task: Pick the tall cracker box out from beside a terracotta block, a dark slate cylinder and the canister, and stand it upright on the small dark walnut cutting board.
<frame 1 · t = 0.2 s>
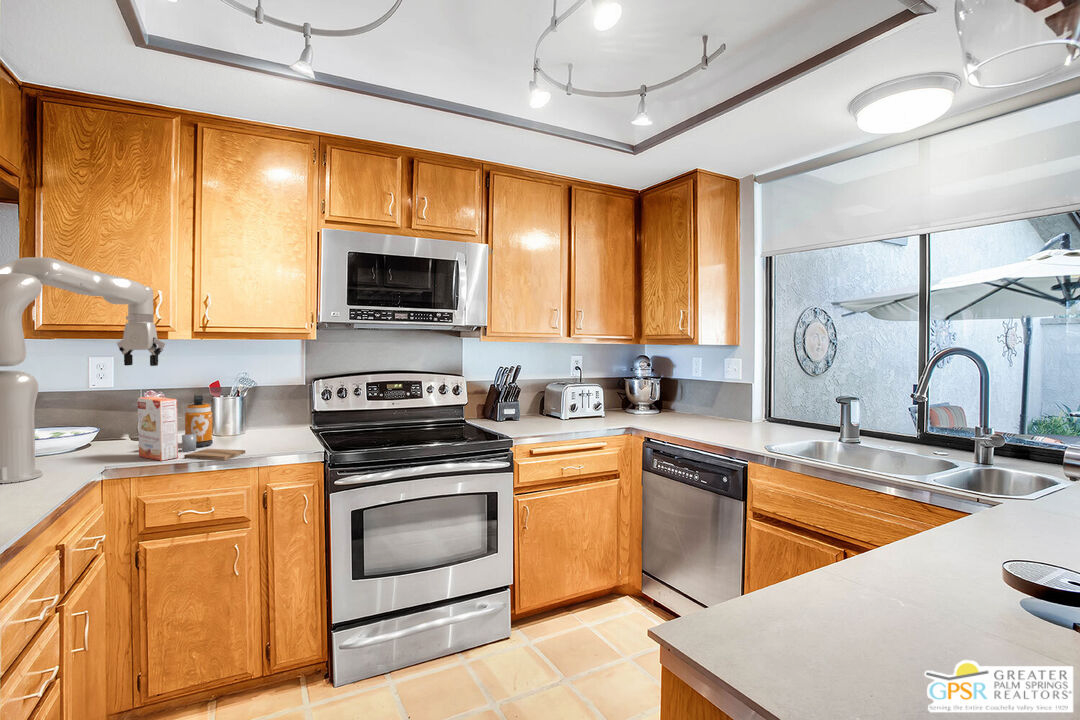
hand: (141, 365, 201), 31 cm above the countertop, tool pointing down, fingers open, 9 cm apart
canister: (198, 445, 211), on the countertop
slate cylinder: (189, 451, 200), on the countertop
cracker box: (158, 458, 189), on the countertop
cutting board: (215, 455, 193), on the countertop
terracotta block: (154, 451, 200), on the countertop
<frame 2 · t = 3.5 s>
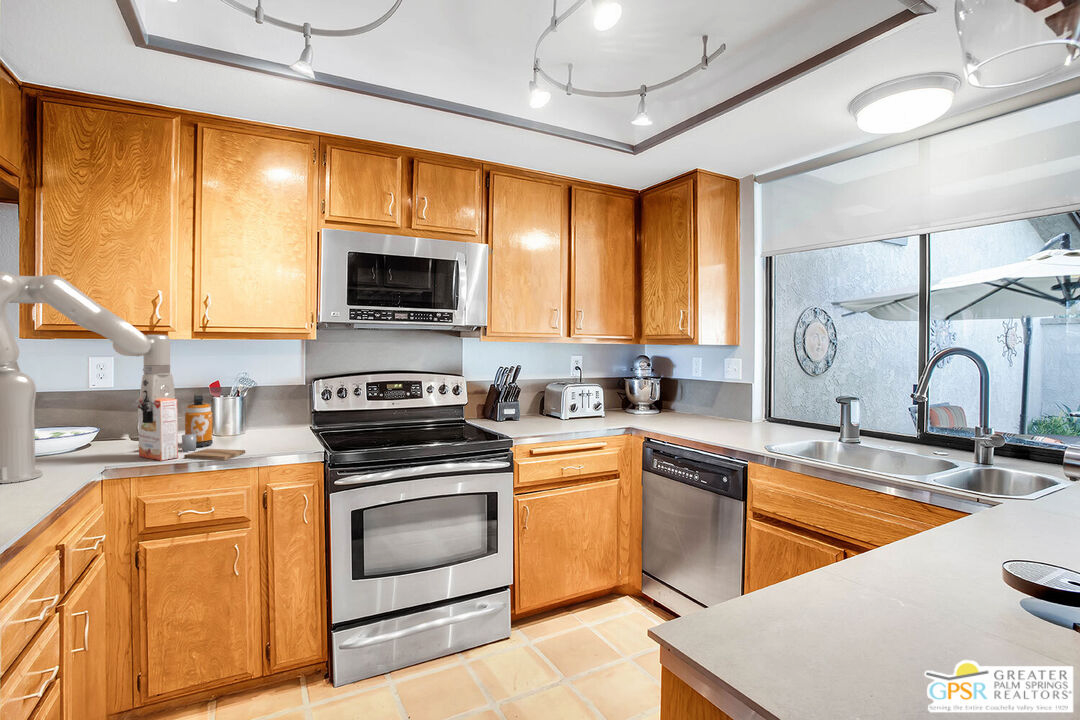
hand: (157, 420, 188), 13 cm above the countertop, tool pointing down, fingers closed on cracker box, 7 cm apart
cracker box: (158, 458, 189), on the countertop, touching gripper
everything else where it was.
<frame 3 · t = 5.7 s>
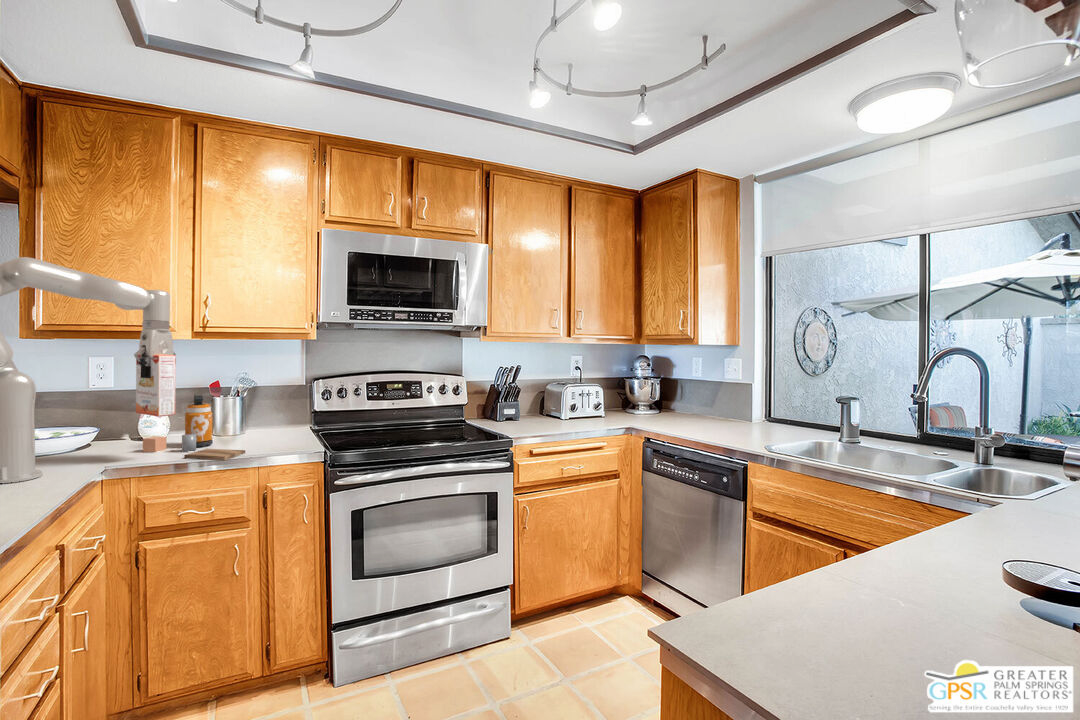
hand: (155, 377, 187), 28 cm above the countertop, tool pointing down, fingers closed on cracker box, 7 cm apart
cracker box: (155, 415, 187), point 15 cm above the countertop, touching gripper
everything else where it was.
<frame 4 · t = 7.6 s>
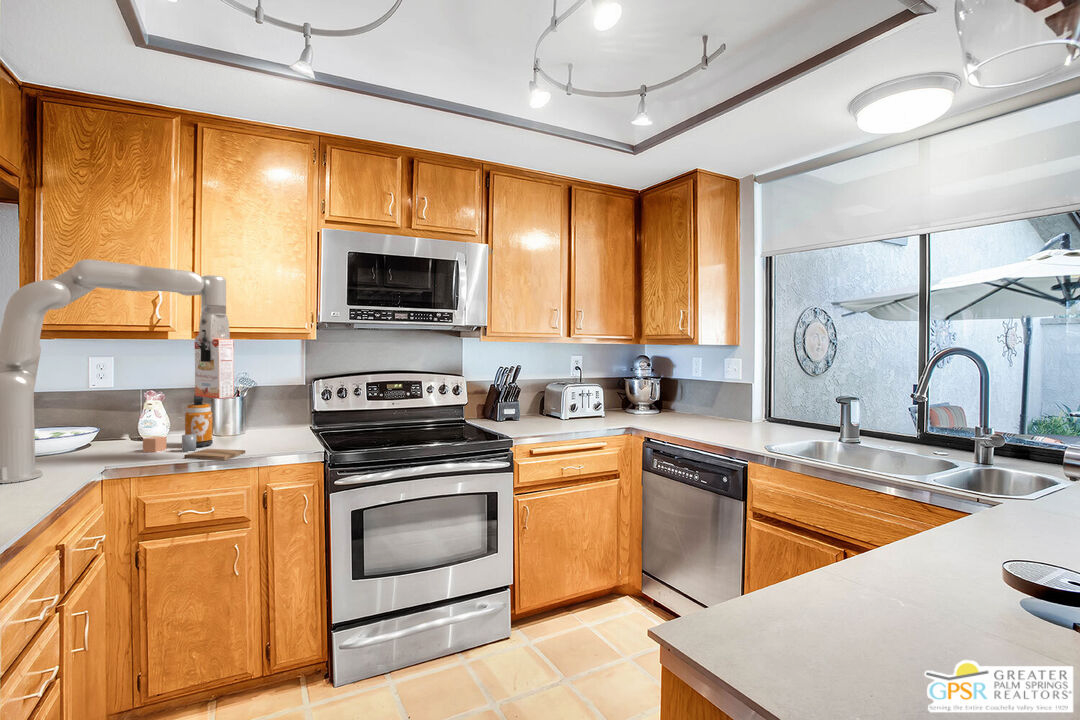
hand: (214, 360, 191), 34 cm above the countertop, tool pointing down, fingers closed on cracker box, 7 cm apart
cracker box: (214, 397, 192), point 21 cm above the countertop, touching gripper
everything else where it was.
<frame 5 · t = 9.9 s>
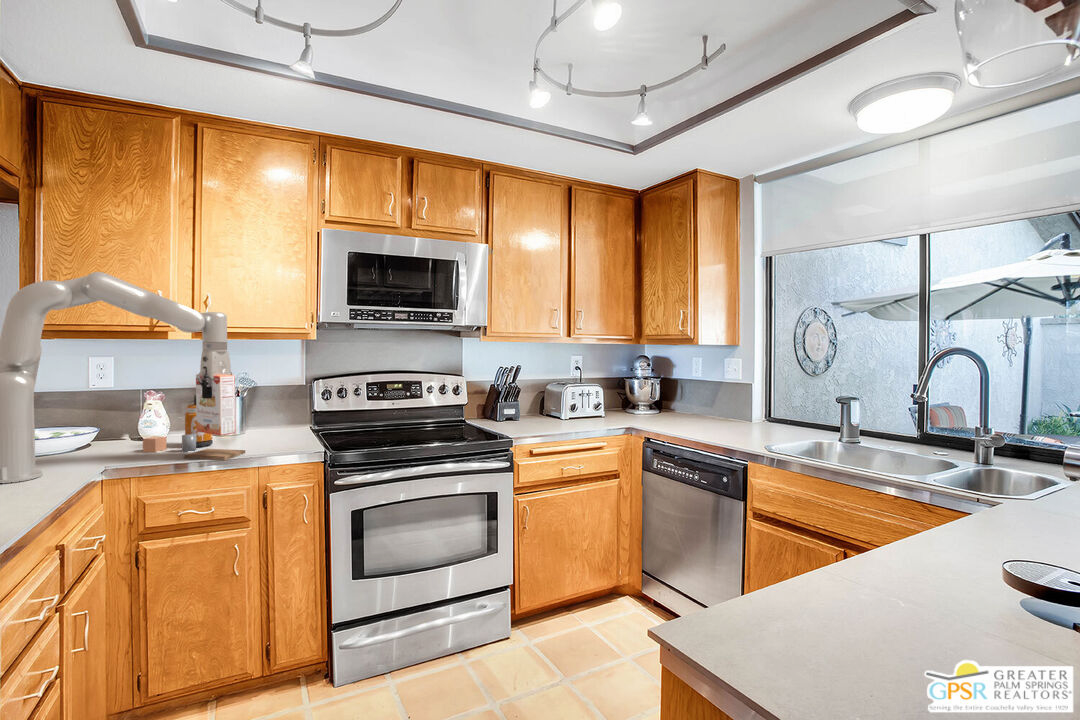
hand: (215, 396, 192), 21 cm above the countertop, tool pointing down, fingers closed on cracker box, 7 cm apart
cracker box: (215, 433, 192), point 8 cm above the countertop, touching gripper
everything else where it was.
when the fingers open (15 cm above the countertop, at t = 11.7 s): cracker box stays where it is, resting on cutting board.
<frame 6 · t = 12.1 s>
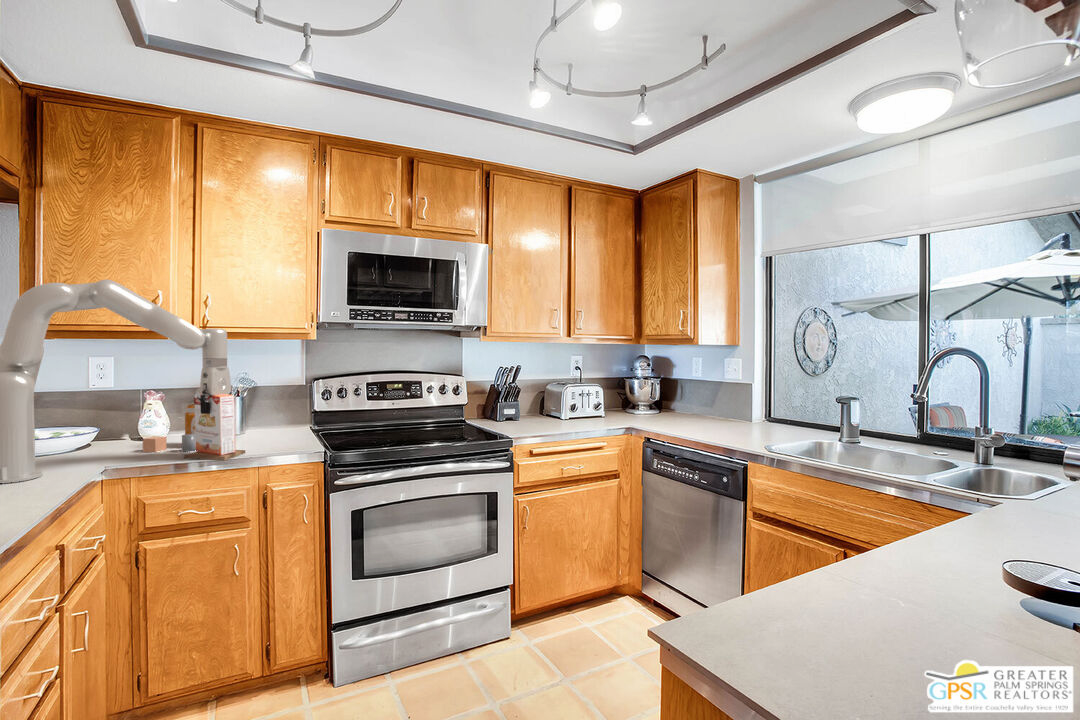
hand: (215, 411, 192), 16 cm above the countertop, tool pointing down, fingers open, 9 cm apart
cracker box: (215, 453, 193), point 1 cm above the countertop, touching cutting board
everything else where it was.
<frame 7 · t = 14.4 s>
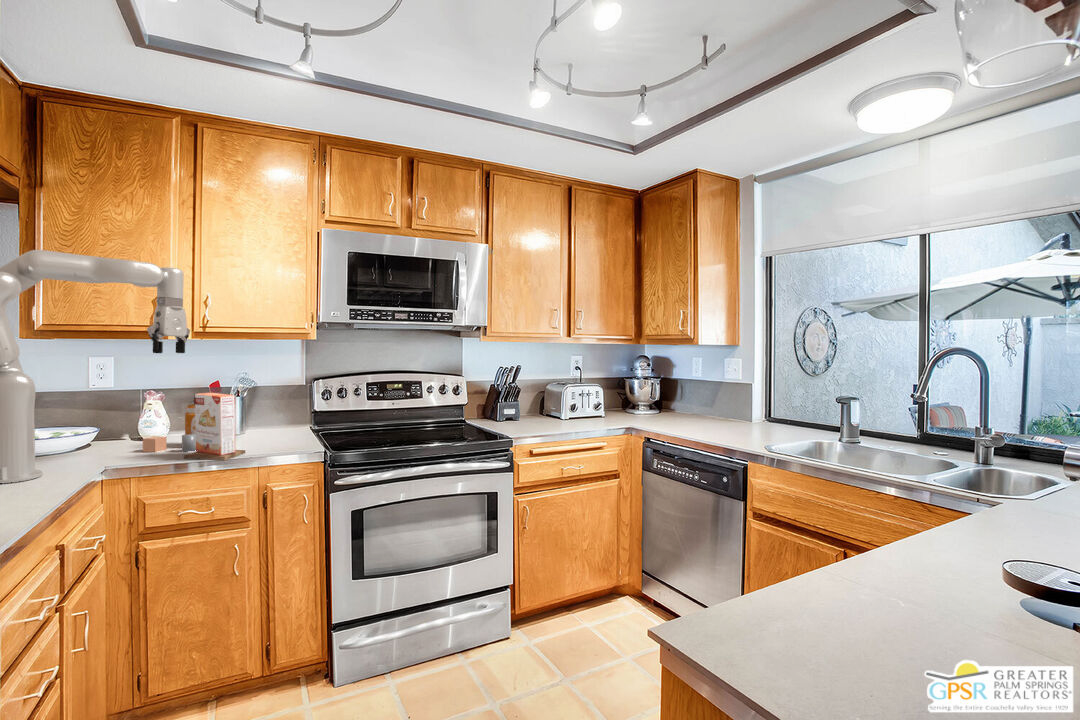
hand: (169, 353, 188), 36 cm above the countertop, tool pointing down, fingers open, 9 cm apart
nothing on the countertop moved.
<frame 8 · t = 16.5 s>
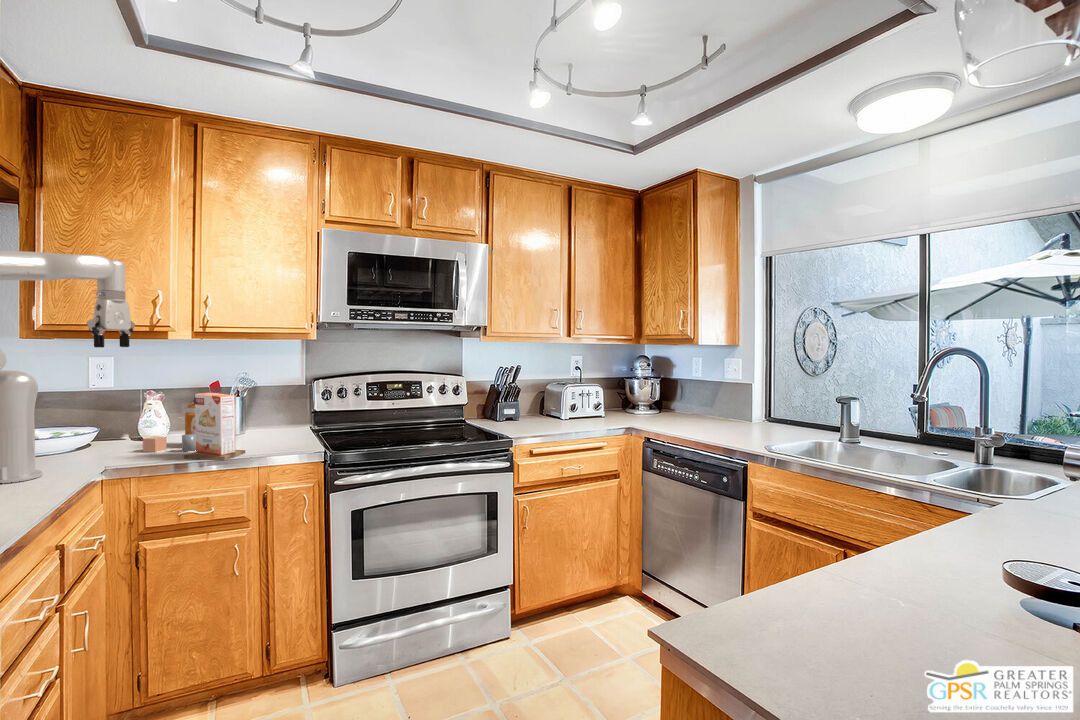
hand: (112, 347, 184), 38 cm above the countertop, tool pointing down, fingers open, 9 cm apart
nothing on the countertop moved.
at the end: cracker box inside the target area on the cutting board (0.1 cm from its centre), point 1.0 cm above the cutting board's base; cracker box tilted 0°; the gripper is holding nothing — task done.
